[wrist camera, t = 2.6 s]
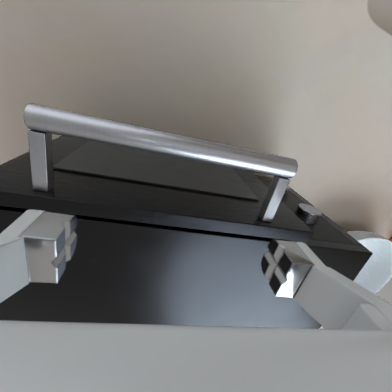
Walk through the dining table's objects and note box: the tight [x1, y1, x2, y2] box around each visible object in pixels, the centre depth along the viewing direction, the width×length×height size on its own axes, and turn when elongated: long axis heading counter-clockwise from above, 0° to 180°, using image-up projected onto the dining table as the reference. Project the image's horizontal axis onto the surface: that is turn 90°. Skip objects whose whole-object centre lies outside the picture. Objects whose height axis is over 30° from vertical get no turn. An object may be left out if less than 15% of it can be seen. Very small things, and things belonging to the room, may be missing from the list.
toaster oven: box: [0, 175, 373, 329], centre depth 33 cm, size 29×36×22 cm
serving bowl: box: [347, 231, 392, 294], centre depth 50 cm, size 21×21×7 cm
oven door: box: [0, 103, 314, 243], centre depth 25 cm, size 7×27×20 cm, turn 77°
